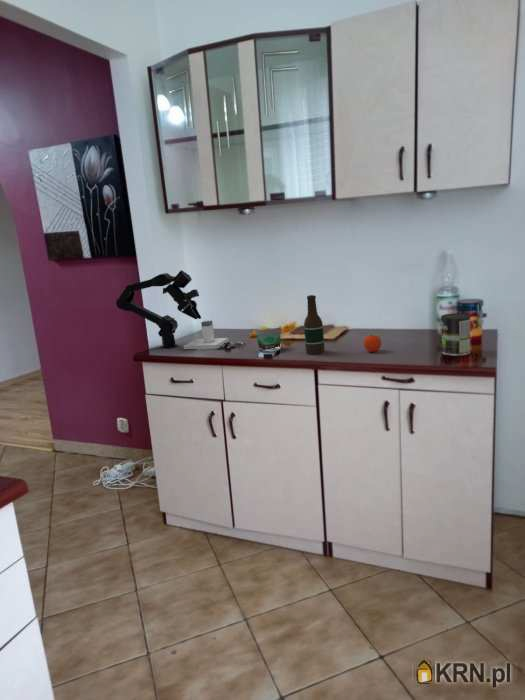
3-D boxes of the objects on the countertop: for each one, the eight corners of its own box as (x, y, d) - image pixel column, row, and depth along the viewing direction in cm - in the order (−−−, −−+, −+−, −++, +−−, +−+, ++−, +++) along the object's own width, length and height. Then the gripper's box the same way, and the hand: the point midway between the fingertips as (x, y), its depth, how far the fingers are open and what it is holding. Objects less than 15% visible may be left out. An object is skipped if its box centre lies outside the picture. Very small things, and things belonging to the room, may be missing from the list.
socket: (184, 349, 250) (183, 345, 250) (197, 342, 264) (196, 338, 264) (217, 348, 245) (216, 344, 245) (228, 341, 259) (228, 337, 259)
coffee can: (445, 356, 193) (444, 319, 190) (439, 350, 203) (438, 314, 200) (474, 354, 192) (473, 316, 189) (466, 348, 202) (466, 312, 199)
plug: (204, 346, 253) (201, 322, 250) (207, 344, 257) (204, 320, 254) (211, 346, 252) (208, 322, 249) (214, 344, 255) (212, 320, 253)
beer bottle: (305, 351, 223) (301, 295, 218) (323, 349, 223) (319, 293, 217) (306, 355, 215) (302, 297, 210) (325, 353, 215) (321, 295, 210)
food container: (260, 354, 226) (257, 331, 224) (256, 351, 232) (254, 329, 230) (287, 350, 229) (285, 327, 227) (282, 347, 235) (280, 325, 233)
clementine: (376, 348, 216) (375, 331, 215) (387, 350, 210) (386, 333, 208) (360, 352, 213) (359, 334, 211) (371, 354, 207) (370, 337, 205)
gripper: (185, 282, 243) (207, 307, 244) (193, 284, 262) (214, 307, 262) (167, 298, 245) (190, 323, 245) (177, 299, 263) (197, 322, 263)
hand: (198, 318), depth 254 cm, fingers open, 9 cm apart
